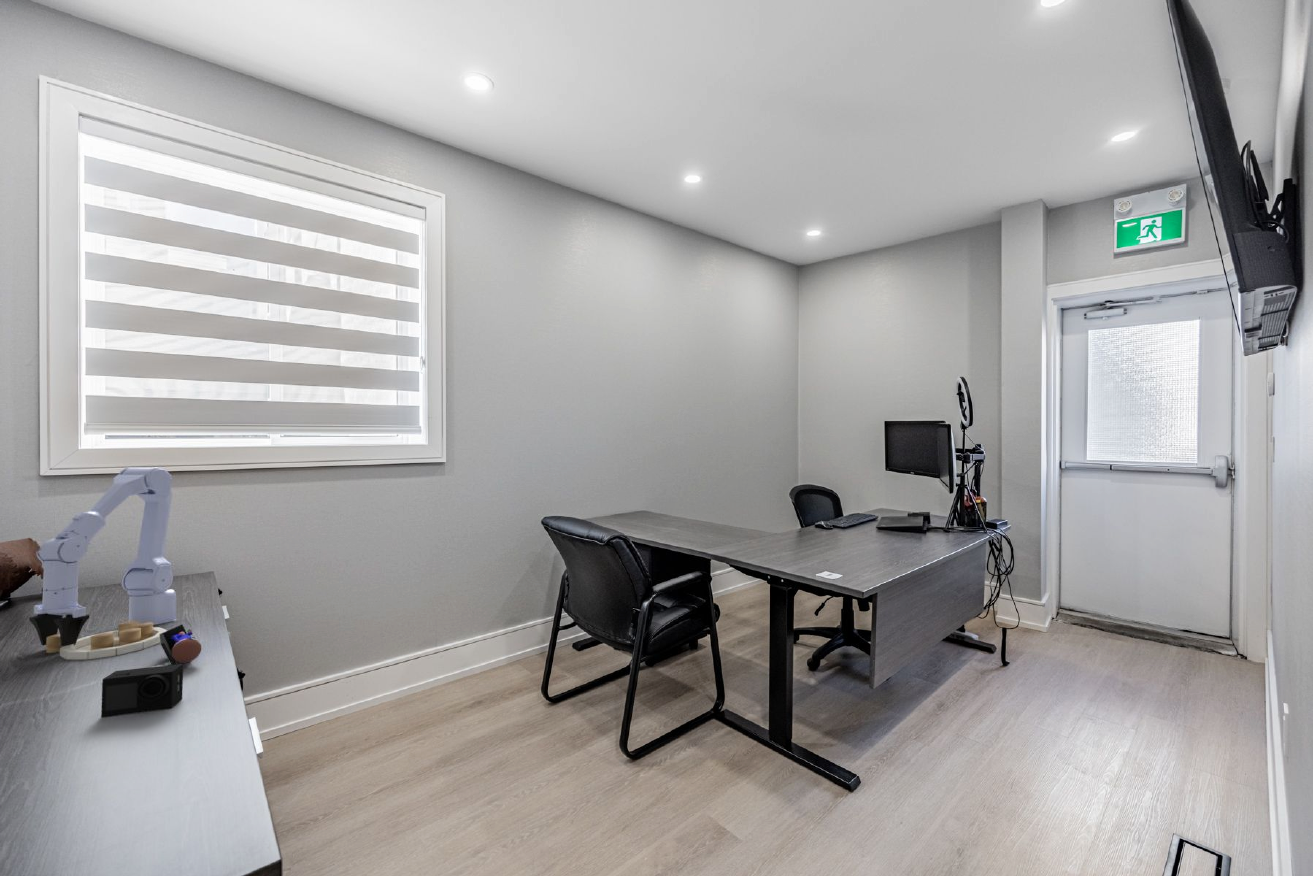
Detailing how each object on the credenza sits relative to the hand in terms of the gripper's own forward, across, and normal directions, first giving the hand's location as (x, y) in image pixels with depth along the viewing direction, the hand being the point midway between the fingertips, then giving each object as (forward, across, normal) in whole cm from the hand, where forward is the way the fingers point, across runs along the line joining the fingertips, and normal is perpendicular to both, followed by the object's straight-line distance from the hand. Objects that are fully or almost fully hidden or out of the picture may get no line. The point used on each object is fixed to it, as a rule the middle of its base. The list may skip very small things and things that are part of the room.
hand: (58, 645), depth 130 cm
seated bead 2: (+1, +14, +6) cm, 16 cm away
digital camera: (+2, +53, -16) cm, 56 cm away
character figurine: (+2, +35, +3) cm, 35 cm away
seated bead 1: (+1, +12, +2) cm, 12 cm away
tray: (+2, +10, +6) cm, 11 cm away
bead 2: (+1, +7, +10) cm, 12 cm away
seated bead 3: (+1, +12, +10) cm, 16 cm away
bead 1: (+2, 0, 0) cm, 2 cm away
